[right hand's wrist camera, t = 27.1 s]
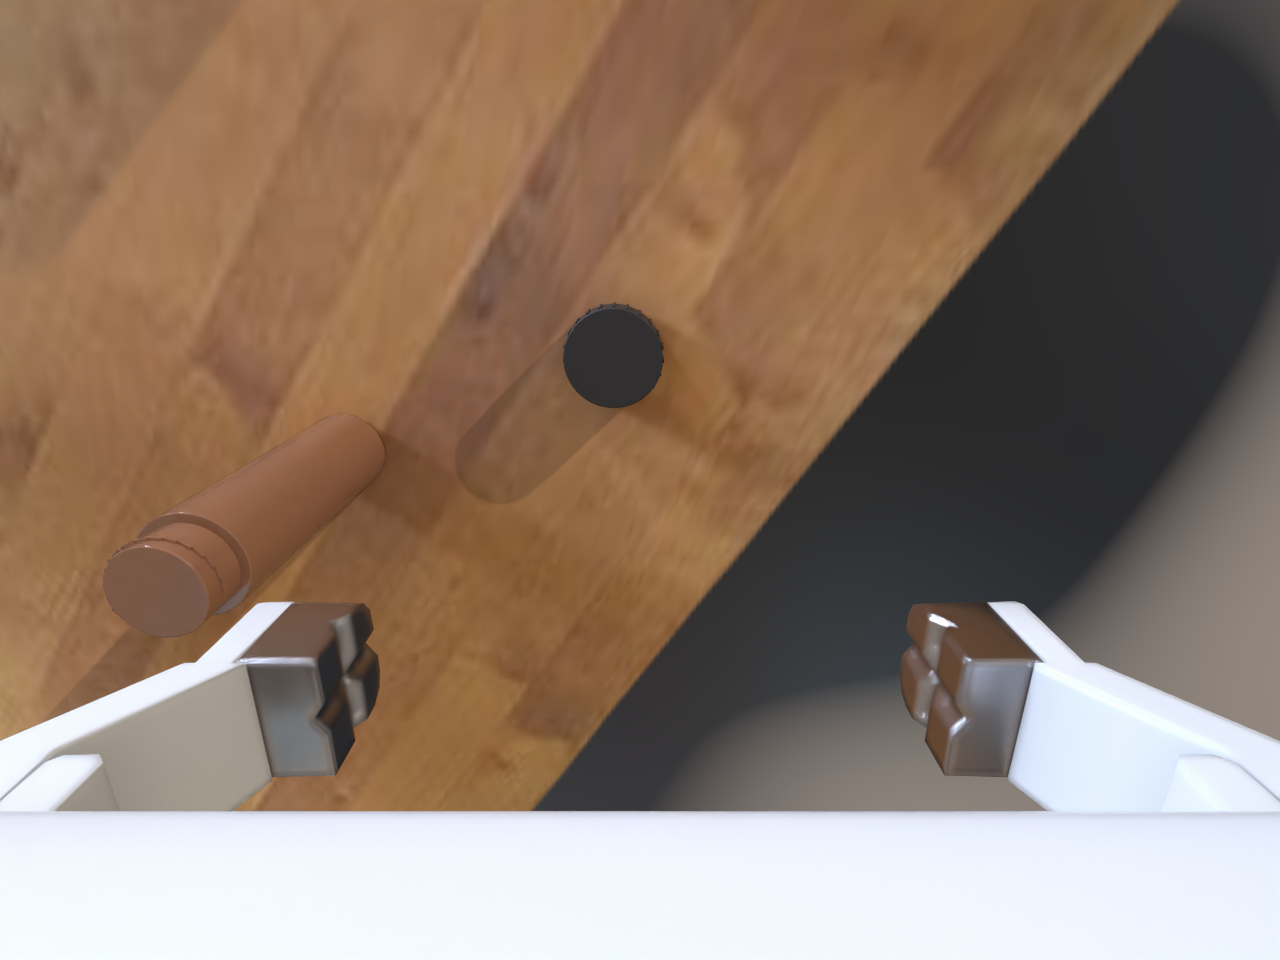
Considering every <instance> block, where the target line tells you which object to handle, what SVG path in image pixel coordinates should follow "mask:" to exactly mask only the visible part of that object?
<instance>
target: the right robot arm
mask: <svg viewBox="0 0 1280 960" xmlns="http://www.w3.org/2000/svg"><path fill="white" fill-rule="evenodd" d="M373 630H374V629H373V624H372V619H371V613H370V610H369V609H368V608H367V606H366V605H365V604H364V603H312V602H299V603H296V602H265V603H258V604H256V605H255V606H254V607H253V608H252V609H251V610H250V611H249V612H248V613H247V614H246V615H245V616H244V617H243V618H242V619H241V620H240V621H239V622H238V623H237V624H235V625H234V626H233V627H232V628H231V629H230V630H229V631H228V632H227V633H226V634H225V635H224V636H223V637H222V638H221V639H220V640H219V641H218V642H217V643H216V644H215V645H213V646H212V647H211V648H210V649H209V650H208V651H207V652H206V653H205V654H204V655H203V656H202V657H201V658H200V659H199V660H198V661H197V662H196V663H183V664H180V665H178V666H176V667H173V668H171V669H169V670H166V671H164V672H162V673H159V674H157V675H154V676H152V677H150V678H147V679H145V680H143V681H140V682H138V683H136V684H133V685H131V686H129V687H126V688H124V689H122V690H119V691H117V692H114V693H112V694H110V695H107V696H105V697H103V698H100V699H98V700H96V701H93V702H91V703H89V704H86V705H84V706H82V707H79V708H77V709H74V710H72V711H70V712H67V713H65V714H63V715H60V716H58V717H56V718H53V719H51V720H49V721H46V722H44V723H42V724H39V725H37V726H34V727H32V728H30V729H27V730H25V731H23V732H20V733H18V734H16V735H13V736H11V737H9V738H6V739H4V740H2V741H0V960H1280V741H1278V740H1276V739H1273V738H1271V737H1269V736H1266V735H1264V734H1262V733H1259V732H1257V731H1255V730H1252V729H1250V728H1247V727H1245V726H1243V725H1240V724H1238V723H1236V722H1233V721H1231V720H1229V719H1226V718H1224V717H1222V716H1219V715H1217V714H1215V713H1212V712H1210V711H1208V710H1205V709H1203V708H1201V707H1198V706H1196V705H1194V704H1191V703H1189V702H1186V701H1184V700H1182V699H1179V698H1177V697H1175V696H1172V695H1170V694H1168V693H1165V692H1163V691H1161V690H1158V689H1156V688H1154V687H1151V686H1149V685H1147V684H1144V683H1142V682H1139V681H1137V680H1135V679H1133V678H1130V677H1128V676H1125V675H1123V674H1121V673H1118V672H1116V671H1114V670H1111V669H1109V668H1107V667H1104V666H1102V665H1100V664H1097V663H1084V662H1083V661H1082V660H1081V659H1080V658H1079V657H1078V656H1077V655H1076V654H1075V653H1074V652H1073V651H1072V650H1071V649H1070V648H1069V647H1068V646H1067V645H1066V644H1064V643H1063V642H1062V641H1061V640H1060V639H1059V638H1058V637H1057V636H1056V635H1055V634H1054V633H1053V632H1052V631H1051V630H1050V629H1049V628H1048V627H1047V626H1046V625H1045V624H1044V623H1043V622H1042V621H1040V620H1039V619H1038V618H1037V617H1036V616H1035V615H1034V614H1033V613H1032V612H1031V611H1030V610H1029V609H1028V608H1027V607H1026V606H1025V605H1024V604H1021V603H1018V602H1015V601H1013V602H989V603H987V602H982V603H942V604H917V605H913V607H912V609H911V611H910V614H909V617H908V623H907V629H906V630H907V631H908V633H909V634H910V636H911V637H912V639H913V641H914V642H915V643H914V644H913V645H912V646H911V647H910V648H909V649H908V650H907V651H906V652H905V653H904V654H903V655H902V663H901V671H900V679H901V689H902V695H903V699H904V702H905V705H906V707H907V709H908V711H909V713H910V715H911V717H912V719H914V720H915V721H917V722H918V723H920V724H921V725H923V726H924V727H926V728H927V731H926V737H925V742H926V744H927V745H928V747H929V749H930V751H931V752H932V754H933V756H934V758H935V759H936V761H937V763H938V765H939V766H940V768H941V770H942V772H943V773H944V775H948V776H985V777H1008V779H1007V780H1008V781H1009V782H1011V783H1012V784H1013V785H1015V786H1016V787H1017V788H1019V789H1020V790H1021V791H1022V792H1024V793H1025V794H1026V795H1028V796H1029V797H1030V798H1032V799H1033V800H1034V801H1036V802H1037V803H1038V804H1039V805H1041V806H1042V807H1043V808H1045V809H1046V810H1047V811H233V810H234V809H236V808H237V807H238V806H240V805H241V804H242V803H243V802H245V801H246V800H247V799H249V798H250V797H251V796H253V795H254V794H255V793H256V792H258V791H259V790H260V789H262V788H263V787H264V786H266V785H267V784H268V783H270V782H271V781H272V777H294V776H330V775H336V774H337V772H338V770H339V768H340V767H341V765H342V763H343V761H344V760H345V758H346V756H347V754H348V752H349V751H350V749H351V747H352V745H353V744H354V742H355V737H354V731H353V728H354V727H356V726H357V725H359V724H360V723H362V722H363V721H365V720H367V719H368V717H369V715H370V713H371V711H372V709H373V707H374V705H375V702H376V698H377V694H378V689H379V679H380V669H379V661H378V655H377V654H376V653H375V652H374V651H373V650H372V649H371V648H370V647H369V646H368V645H367V644H366V643H365V642H366V641H367V639H368V638H369V636H370V634H371V633H372V631H373Z"/></svg>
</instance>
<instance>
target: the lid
mask: <svg viewBox="0 0 1280 960" xmlns="http://www.w3.org/2000/svg"><path fill="white" fill-rule="evenodd" d="M575 323H576V325H575V326H574V328H573V329H572V328H571V330H570V331H569V332H568V335H569V336H568V338H567V340H566V343H565V345H564V347H563V348H564V355H563V362H564V368H565V372H566V375H567V377H568V379H569V381H570V383H571V385H572V386H573V388H574V389H575V390H576V391H577V392H578V393H579V394H580V395H581V396H582V397H583V398H585V399H586V400H588V401H590V402H591V403H594V404H596V405H599V406H603V407H608V408H619V407H625V406H629V405H631V404H634V403H636V402H638V401H640V400H641V399H643V398H644V397H645V396H646V395H647V394H648V393H649V392H650V391H651V390H652V389H653V388H654V387H655V385H656V383H657V381H658V379H659V376H661V370H662V364H663V363H664V358H663V354H662V349H663V344H662V342H660V338H659V331H658V330H656V329H655V327H654V325H653V324H652V321H651V319H648V318H647V317H646V316H645V315H644V314H642V313H641V310H639V311H638V310H636V309H634V308H632V307H629V305H628V304H627V306H626V305H620V304H616V303H615V302H614V303H613V304H608V305H602V304H600V306H599V307H597V308H594V309H592V310H590V309H589V310H588V311H587V312H586V314H585V315H584V316H582V317H581V318H578V319H577V321H576V322H575Z"/></svg>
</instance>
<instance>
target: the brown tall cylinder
mask: <svg viewBox="0 0 1280 960" xmlns="http://www.w3.org/2000/svg"><path fill="white" fill-rule="evenodd" d="M384 462H385V450H384V446H383V443H382V440H381V438H380V437H379V435H378V433H377V432H376V431H375V430H374V429H373V428H372V427H371V426H370V425H369V424H368V423H366V422H365V421H363V420H361V419H359V418H357V417H354V416H351V415H344V414H337V415H332V416H328V417H326V418H324V419H322V420H320V421H319V422H317V423H315V424H314V425H312V426H310V427H309V428H307V429H305V430H303V431H302V432H300V433H298V434H297V435H295V436H293V437H292V438H290V439H288V440H286V441H285V442H283V443H281V444H280V445H278V446H276V447H275V448H273V449H271V450H269V451H268V452H266V453H264V454H263V455H261V456H259V457H258V458H256V459H254V460H253V461H251V462H249V463H247V464H246V465H244V466H242V467H241V468H239V469H237V470H236V471H234V472H232V473H230V474H229V475H227V476H225V477H224V478H222V479H220V480H219V481H217V482H215V483H213V484H212V485H210V486H208V487H207V488H205V489H203V490H202V491H200V492H198V493H196V494H195V495H193V496H191V497H190V498H188V499H186V500H185V501H183V502H181V503H179V504H178V505H176V506H174V507H173V508H171V509H169V510H168V511H166V512H164V513H162V514H161V515H159V516H157V517H156V518H154V519H152V520H151V521H150V522H148V523H147V524H146V525H145V526H144V527H143V528H142V530H141V531H140V532H139V535H138V537H137V539H134V540H132V541H131V542H129V543H127V544H125V545H124V546H122V547H120V548H119V549H118V550H117V551H116V552H115V553H114V555H113V556H112V557H111V558H110V559H109V561H108V564H107V566H106V569H105V570H104V575H103V588H104V592H105V595H106V598H107V600H108V602H109V604H110V605H111V607H112V608H113V609H112V610H113V611H114V612H115V613H116V614H117V615H118V616H119V617H120V618H121V619H122V620H124V621H125V622H126V623H127V624H129V625H130V626H132V627H134V628H135V629H137V630H139V631H141V632H144V633H146V634H149V635H153V636H158V637H167V638H168V637H179V636H183V635H186V634H189V633H191V632H193V631H195V630H196V629H198V628H199V627H200V626H201V625H202V624H203V623H204V622H205V621H207V620H208V619H209V618H210V617H211V616H212V615H218V614H222V613H225V612H228V611H230V610H232V609H234V608H235V607H237V606H238V605H239V604H240V603H241V602H243V601H244V600H245V599H246V598H247V597H248V596H249V595H250V594H251V593H252V592H253V591H254V590H255V589H257V588H258V587H259V586H260V585H261V584H262V583H263V582H264V581H265V580H266V579H267V578H268V577H269V576H271V575H272V574H273V573H274V572H275V571H276V570H277V569H278V568H279V567H280V566H281V565H282V564H283V563H285V562H286V561H287V560H288V559H289V558H290V557H291V556H292V555H293V554H294V553H295V552H296V551H297V550H299V549H300V548H301V547H302V546H303V545H304V544H305V543H306V542H307V541H308V540H309V539H310V538H312V537H313V536H314V535H315V534H316V533H317V532H318V531H319V530H320V529H321V528H322V527H323V526H324V525H326V524H327V523H328V522H329V521H330V520H331V519H332V518H333V517H334V516H335V515H336V514H337V513H338V512H340V511H341V510H342V509H343V508H344V507H345V506H346V505H347V504H348V503H349V502H350V501H351V500H352V499H354V498H355V497H356V496H357V495H358V494H359V493H360V492H361V491H362V490H363V489H364V488H365V487H366V486H368V485H369V484H370V483H371V482H372V481H373V480H374V479H375V478H376V477H377V476H378V475H379V474H380V472H381V470H382V468H383V466H384Z"/></svg>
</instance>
